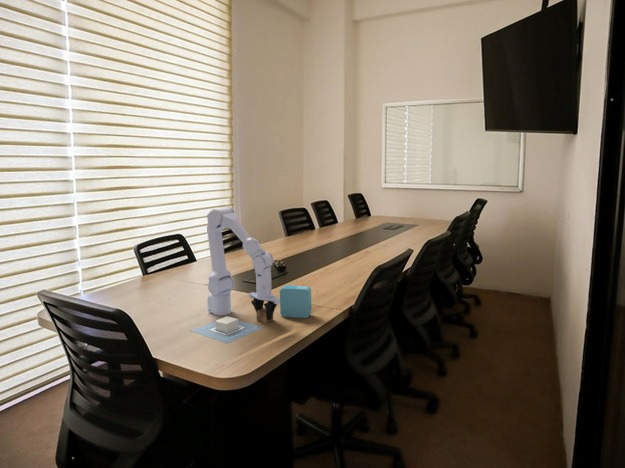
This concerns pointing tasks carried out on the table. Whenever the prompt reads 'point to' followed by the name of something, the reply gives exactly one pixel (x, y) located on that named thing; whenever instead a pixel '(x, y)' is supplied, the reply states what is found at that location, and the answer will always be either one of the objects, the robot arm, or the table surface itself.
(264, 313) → the walnut block
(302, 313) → the data package
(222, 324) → the base block
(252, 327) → the blueprint board
